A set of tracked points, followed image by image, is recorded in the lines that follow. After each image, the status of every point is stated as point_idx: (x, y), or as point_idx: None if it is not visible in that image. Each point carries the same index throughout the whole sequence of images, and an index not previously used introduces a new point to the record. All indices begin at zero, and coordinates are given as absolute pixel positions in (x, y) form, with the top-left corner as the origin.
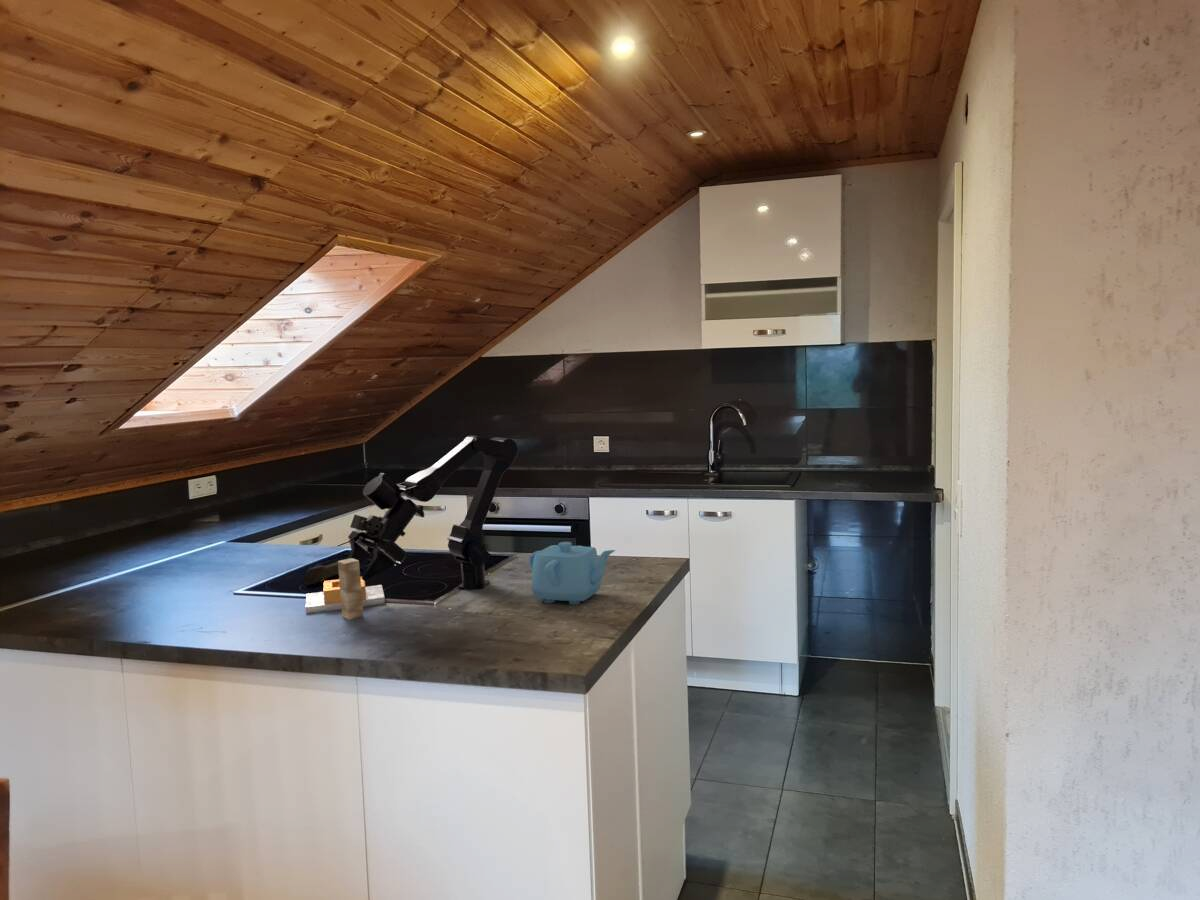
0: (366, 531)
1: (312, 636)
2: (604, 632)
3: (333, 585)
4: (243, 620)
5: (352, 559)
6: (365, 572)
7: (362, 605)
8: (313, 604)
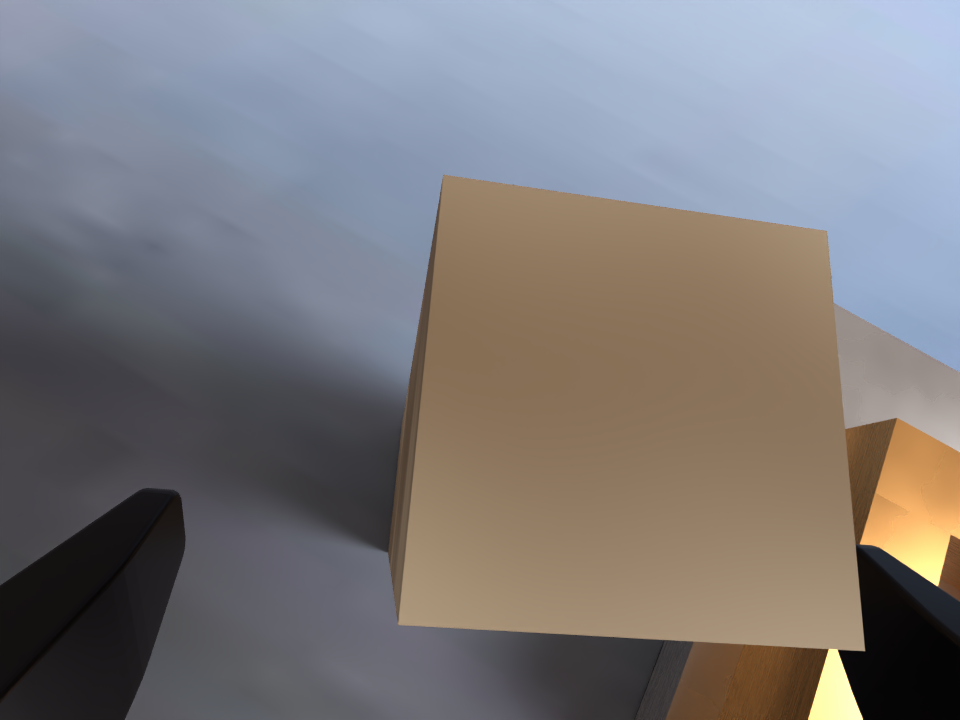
0: None
1: (283, 86)
2: None
3: None
4: (914, 43)
5: (697, 564)
6: (73, 565)
7: (646, 700)
8: (847, 367)
